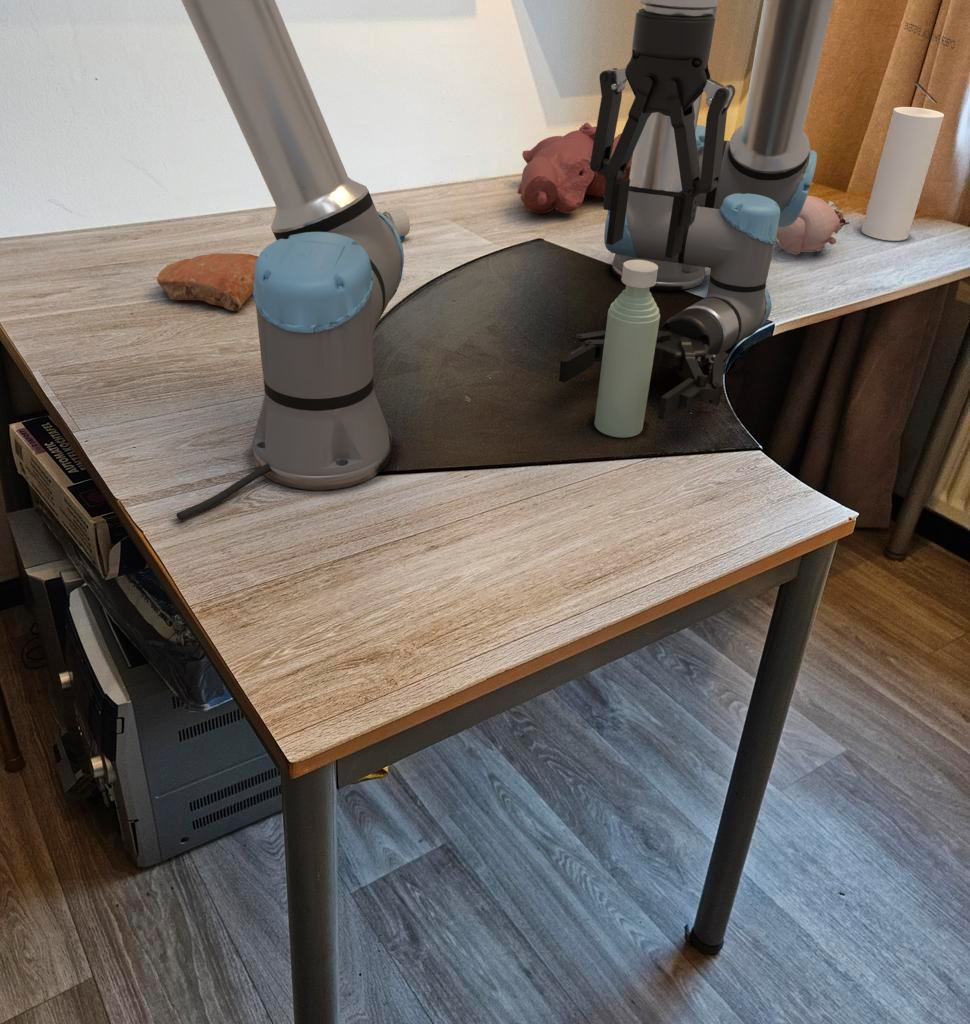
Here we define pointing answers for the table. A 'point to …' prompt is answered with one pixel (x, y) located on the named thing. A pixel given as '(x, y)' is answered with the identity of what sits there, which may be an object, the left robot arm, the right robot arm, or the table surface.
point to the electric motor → (399, 221)
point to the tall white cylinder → (902, 168)
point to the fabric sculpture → (562, 172)
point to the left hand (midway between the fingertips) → (643, 247)
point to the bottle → (627, 363)
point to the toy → (812, 227)
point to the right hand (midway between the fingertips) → (610, 389)
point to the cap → (639, 273)
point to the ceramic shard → (211, 279)
